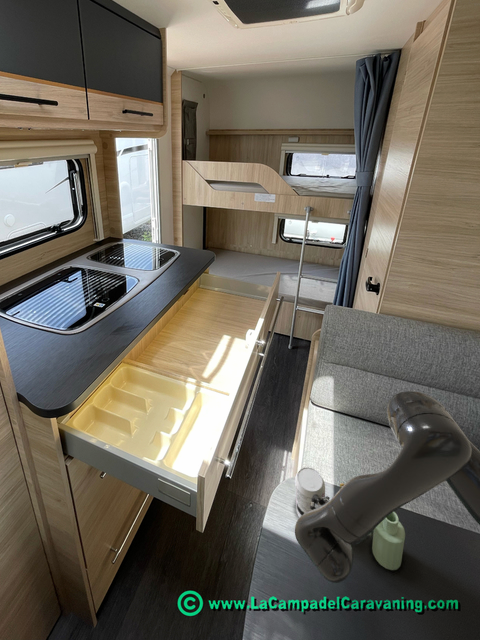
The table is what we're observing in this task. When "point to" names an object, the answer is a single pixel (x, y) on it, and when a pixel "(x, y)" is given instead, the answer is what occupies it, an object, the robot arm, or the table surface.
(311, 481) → the supplement can
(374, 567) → the table surface
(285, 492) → the table surface
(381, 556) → the green bottle
